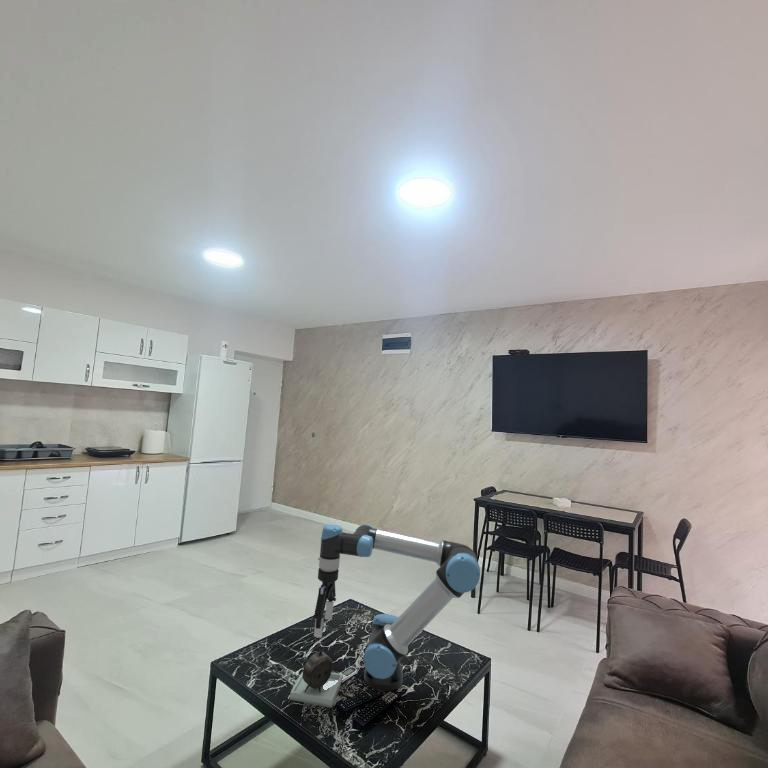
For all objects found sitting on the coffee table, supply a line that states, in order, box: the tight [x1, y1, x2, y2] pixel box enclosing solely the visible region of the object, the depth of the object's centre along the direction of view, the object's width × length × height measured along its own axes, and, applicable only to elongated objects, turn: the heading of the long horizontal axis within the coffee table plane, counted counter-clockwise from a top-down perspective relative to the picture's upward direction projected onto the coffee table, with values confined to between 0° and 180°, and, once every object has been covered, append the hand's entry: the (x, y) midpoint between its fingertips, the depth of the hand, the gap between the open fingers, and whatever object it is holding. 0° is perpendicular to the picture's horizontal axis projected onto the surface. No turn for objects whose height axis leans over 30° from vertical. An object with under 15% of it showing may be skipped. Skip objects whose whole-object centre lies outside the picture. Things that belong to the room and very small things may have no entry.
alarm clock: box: [302, 641, 334, 692], centre depth 152 cm, size 11×5×16 cm, turn 134°
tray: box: [289, 671, 344, 709], centre depth 152 cm, size 15×15×2 cm
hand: (323, 627), depth 154 cm, fingers open, 13 cm apart
